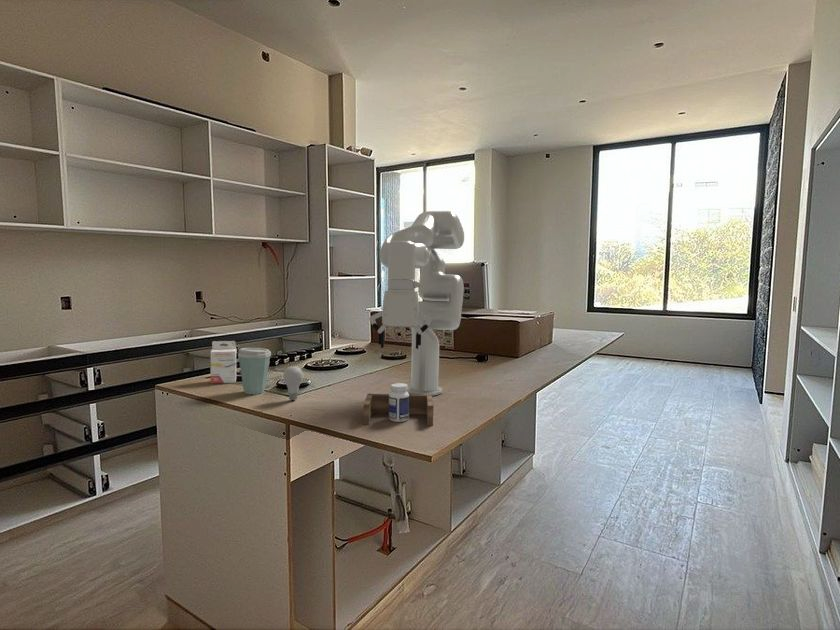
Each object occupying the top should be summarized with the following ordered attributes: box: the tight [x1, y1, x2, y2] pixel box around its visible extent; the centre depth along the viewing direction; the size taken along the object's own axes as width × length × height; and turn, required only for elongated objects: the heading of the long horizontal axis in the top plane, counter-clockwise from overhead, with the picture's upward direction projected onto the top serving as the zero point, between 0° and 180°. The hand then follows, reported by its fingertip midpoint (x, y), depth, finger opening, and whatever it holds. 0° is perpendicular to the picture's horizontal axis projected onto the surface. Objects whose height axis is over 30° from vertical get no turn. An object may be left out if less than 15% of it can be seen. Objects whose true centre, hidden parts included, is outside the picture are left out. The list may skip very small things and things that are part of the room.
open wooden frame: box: [362, 393, 434, 426], centre depth 135 cm, size 12×19×6 cm, turn 91°
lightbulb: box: [282, 365, 304, 401], centre depth 151 cm, size 6×6×11 cm
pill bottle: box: [388, 382, 410, 423], centre depth 134 cm, size 6×6×10 cm
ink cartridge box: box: [210, 340, 237, 385], centre depth 173 cm, size 9×5×15 cm, turn 108°
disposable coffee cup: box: [237, 347, 272, 395], centre depth 159 cm, size 11×11×15 cm
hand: (399, 347), depth 133 cm, fingers open, 9 cm apart
